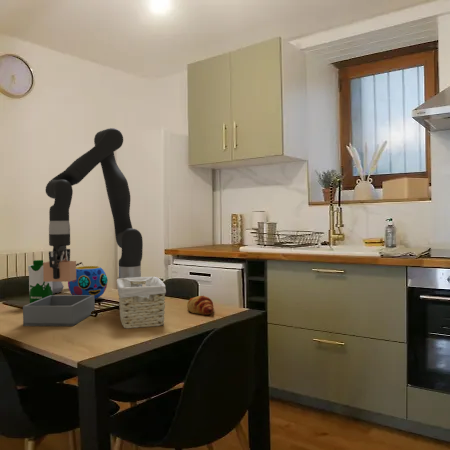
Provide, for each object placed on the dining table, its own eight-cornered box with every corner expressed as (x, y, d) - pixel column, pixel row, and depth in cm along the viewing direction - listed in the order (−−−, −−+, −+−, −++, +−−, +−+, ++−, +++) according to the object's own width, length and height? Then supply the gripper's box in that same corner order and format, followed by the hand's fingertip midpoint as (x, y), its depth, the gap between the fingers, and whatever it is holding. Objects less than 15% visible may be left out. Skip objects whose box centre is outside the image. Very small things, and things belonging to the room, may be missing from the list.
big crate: (94, 312, 180) (94, 295, 180) (72, 326, 158) (72, 306, 158) (50, 312, 181) (50, 295, 181) (23, 326, 159) (22, 306, 159)
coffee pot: (39, 295, 221) (38, 265, 220) (39, 292, 231) (38, 263, 231) (84, 292, 229) (84, 263, 229) (82, 289, 240) (82, 261, 239)
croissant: (184, 315, 189) (175, 299, 187) (203, 302, 193) (195, 286, 191) (205, 325, 170) (195, 307, 168) (226, 310, 174) (217, 293, 172)
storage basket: (167, 326, 156) (166, 284, 156) (119, 330, 152) (118, 287, 152) (158, 312, 179) (157, 275, 179) (116, 315, 175) (115, 277, 175)
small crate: (76, 279, 172) (75, 261, 172) (69, 281, 166) (69, 262, 166) (50, 279, 173) (50, 261, 173) (43, 281, 167) (43, 262, 167)
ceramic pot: (76, 304, 197) (76, 270, 196) (62, 299, 210) (61, 267, 210) (114, 299, 208) (113, 267, 207) (98, 294, 221) (97, 264, 221)
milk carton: (26, 308, 191) (25, 261, 190) (37, 304, 200) (36, 259, 199) (46, 308, 190) (45, 261, 190) (56, 304, 199) (55, 258, 199)
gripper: (61, 233, 162) (61, 280, 162) (76, 232, 176) (77, 275, 177) (40, 233, 162) (41, 280, 163) (58, 232, 177) (58, 275, 177)
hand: (60, 277), depth 170 cm, fingers closed on small crate, 6 cm apart
